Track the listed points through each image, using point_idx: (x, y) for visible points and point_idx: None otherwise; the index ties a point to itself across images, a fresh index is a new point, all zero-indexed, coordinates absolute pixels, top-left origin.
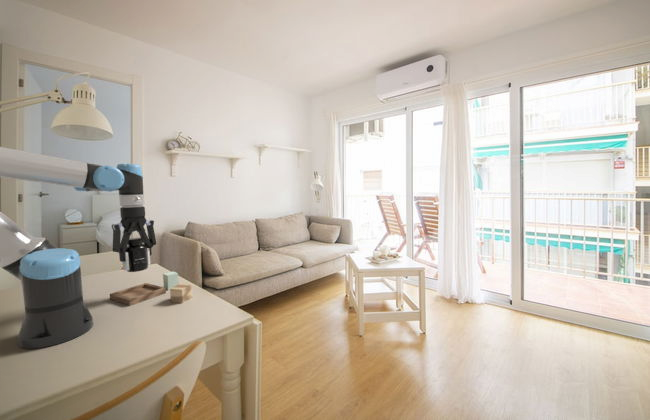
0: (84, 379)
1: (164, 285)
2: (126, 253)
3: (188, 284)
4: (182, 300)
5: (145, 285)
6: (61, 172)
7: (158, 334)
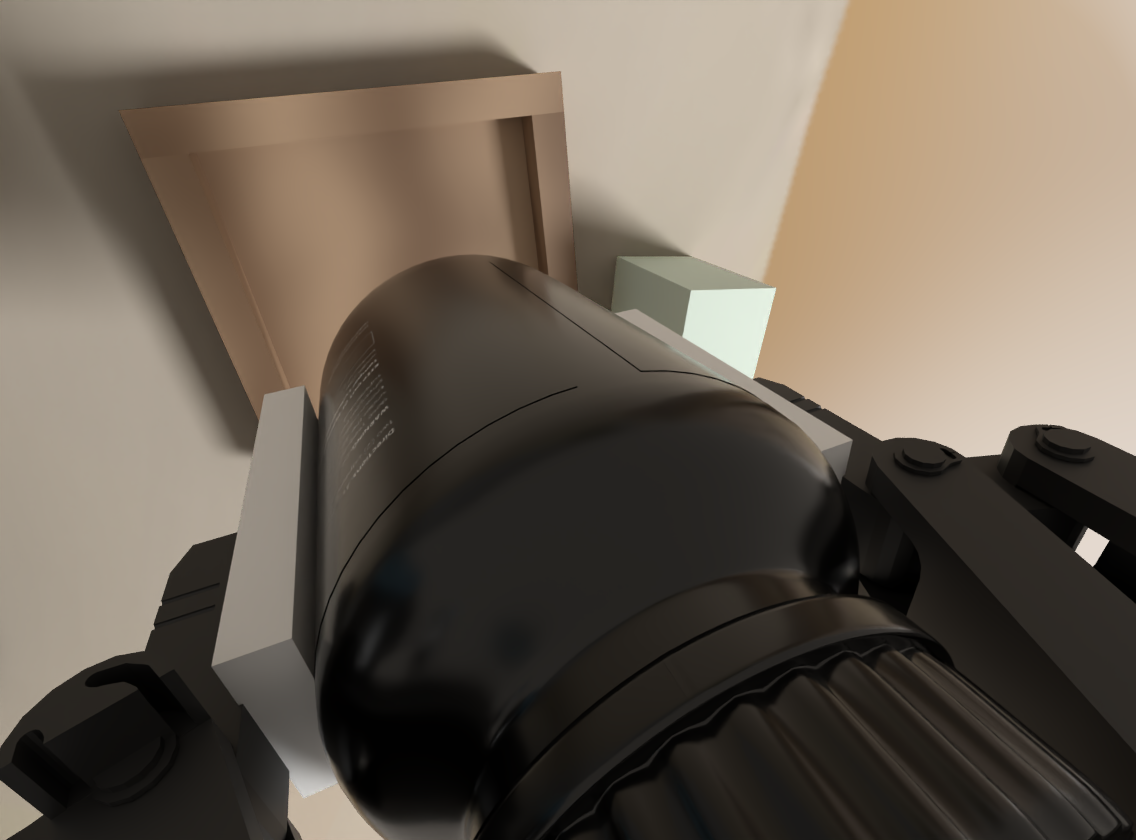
0: None
1: (628, 279)
2: (319, 772)
3: None
4: None
5: (529, 134)
6: None
7: (322, 832)
